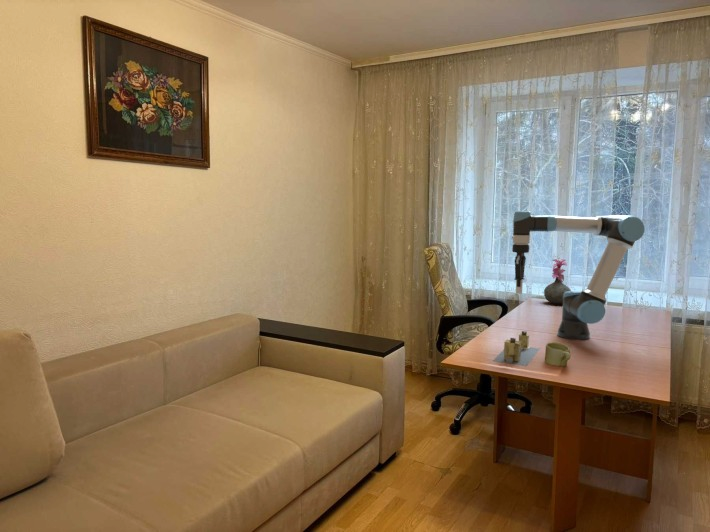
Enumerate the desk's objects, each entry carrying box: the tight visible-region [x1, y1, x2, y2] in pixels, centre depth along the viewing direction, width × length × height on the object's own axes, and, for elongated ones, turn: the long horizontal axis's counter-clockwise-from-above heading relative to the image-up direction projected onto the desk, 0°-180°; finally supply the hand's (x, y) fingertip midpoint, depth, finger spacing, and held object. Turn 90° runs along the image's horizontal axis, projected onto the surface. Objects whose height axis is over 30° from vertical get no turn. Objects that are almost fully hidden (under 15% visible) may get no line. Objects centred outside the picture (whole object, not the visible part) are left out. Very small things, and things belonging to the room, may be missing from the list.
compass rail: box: [505, 330, 530, 365], centre depth 231 cm, size 4×29×7 cm, turn 151°
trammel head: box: [503, 337, 521, 362], centre depth 223 cm, size 6×4×9 cm
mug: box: [544, 342, 572, 368], centre depth 218 cm, size 12×10×10 cm
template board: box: [492, 346, 541, 367], centre depth 232 cm, size 14×31×1 cm, turn 150°
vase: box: [543, 258, 572, 306], centre depth 349 cm, size 17×18×30 cm
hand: (518, 293), depth 250 cm, fingers closed
